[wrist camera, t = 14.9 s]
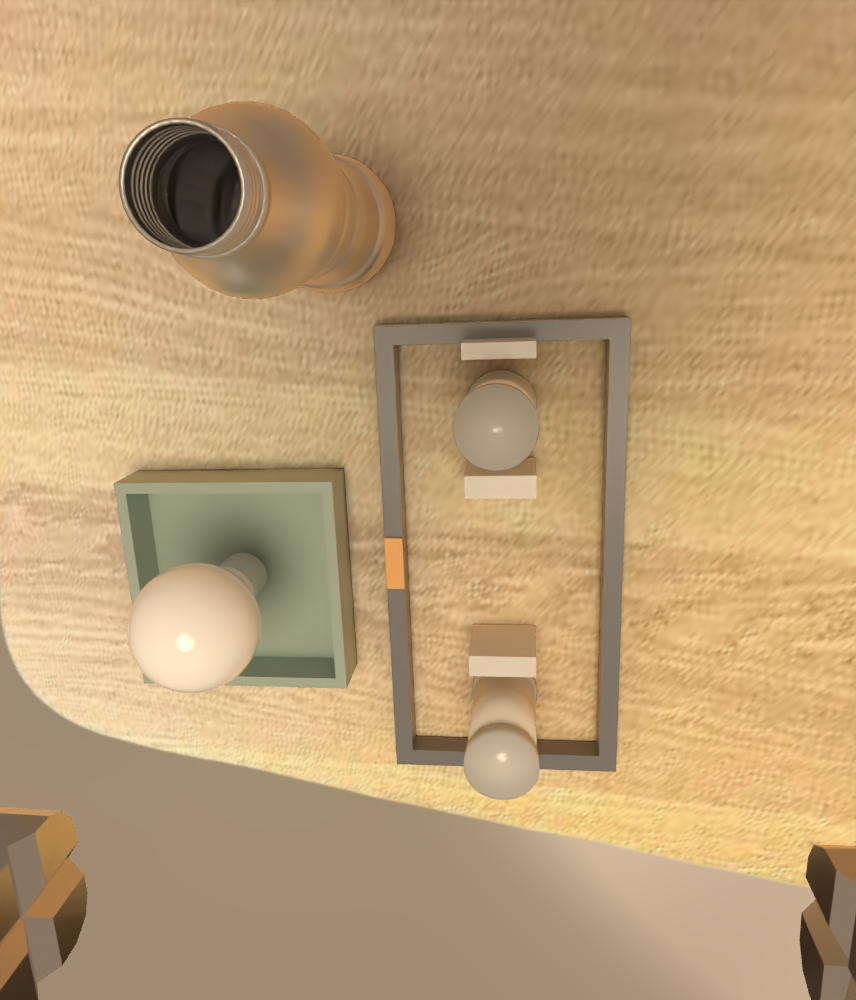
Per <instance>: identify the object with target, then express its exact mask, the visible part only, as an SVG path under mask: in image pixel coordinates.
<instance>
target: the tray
mask: <svg viewBox="0 0 856 1000" xmlns="http://www.w3.org/2000/svg"><path fill="white" fill-rule="evenodd" d="M114 488H115V495H116V501H117V508H118V515H119V521H120V528H121V534H122V541H123V548H124V554H125V561H126V567H127V574H128V581H129V587H130V594H131V600H132V605H133V603H134V601H135V599H136V597H137V596H138V594H139V593H140V591H141V590H142V589H143V588H144V586H145V585H146V584H147V583H148V582H149V581H150V580H152V579H153V578H154V577H155V576H157V575H158V574H160V573H162V572H163V571H165V570H167V569H169V568H172V567H175V566H178V565H182V564H187V563H208V564H213V565H217V566H220V565H221V564H222V563H223V562H224V561H225V560H226V559H227V558H228V557H230V556H231V555H233V554H235V553H240V552H244V553H249V554H252V555H254V556H256V557H257V558H258V559H259V560H260V561H261V562H262V563H263V565H264V566H265V569H266V572H267V580H266V584H265V586H264V587H263V588H262V590H261V591H260V592H259V594H258V595H257V596H256V597H255V598H256V600H257V603H258V606H259V609H260V614H261V636H260V641H259V644H258V647H257V650H256V652H255V654H254V656H253V658H252V660H251V661H250V663H249V664H248V665H247V667H246V668H245V669H244V670H243V671H242V672H241V673H240V674H239V675H238V676H237V677H236V678H234V679H233V680H232V681H230V682H229V683H227V684H225V685H233V686H274V687H315V688H347V687H348V684H349V682H350V679H351V677H352V675H353V672H354V670H355V668H356V665H357V652H356V638H355V623H354V608H353V594H352V579H351V564H350V550H349V535H348V520H347V506H346V491H345V476H344V468H329V469H222V470H139V471H137V472H135V473H133V474H131V475H129V476H127V477H125V478H123V479H121V480H119V481H117V482H116V483H114ZM142 673H143V672H142ZM143 679H144V683H152V684H156V683H154V682H153V681H151V680H150V679H149V678H148V677H147V676H146V675H145V674H144V673H143Z"/></svg>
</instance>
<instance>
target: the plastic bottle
mask: <svg viewBox="0 0 856 1000" xmlns="http://www.w3.org/2000/svg"><path fill="white" fill-rule="evenodd" d="M119 191H120V197H121V200H122V204H123V207H124V210H125V212H126V214H127V216H128V218H129V220H130V221H131V223H132V224H133V225H134V227H135V228H136V229H137V231H138V232H139V233H141V234H142V235H143V236H144V237H145V238H146V239H147V240H148V241H150V242H151V243H153V244H154V245H156V246H158V247H160V248H162V249H164V250H167V251H169V252H170V253H171V254H172V256H173V257H174V258H175V260H176V261H177V262H178V263H179V264H180V265H181V266H182V267H183V268H184V269H185V270H187V271H188V272H189V273H190V274H191V275H192V276H193V277H194V278H195V279H197V280H198V281H200V282H201V283H203V284H204V285H206V286H207V287H209V288H211V289H213V290H215V291H218V292H220V293H223V294H225V295H229V296H233V297H238V298H243V299H263V298H268V297H273V296H278V295H281V294H284V293H287V292H289V291H292V290H294V289H296V288H299V287H304V288H306V289H308V290H311V291H316V292H321V293H339V292H344V291H349V290H351V289H354V288H356V287H358V286H361V285H362V284H364V283H365V282H367V281H368V280H370V279H371V278H372V277H373V276H374V275H375V274H376V273H377V272H378V271H379V270H380V269H381V268H382V266H383V265H384V263H385V262H386V260H387V258H388V257H389V254H390V252H391V249H392V247H393V243H394V238H395V233H396V217H395V212H394V207H393V203H392V200H391V198H390V195H389V193H388V191H387V189H386V188H385V186H384V185H383V183H382V181H381V180H380V179H379V178H378V177H377V176H376V175H375V174H374V173H373V172H372V170H371V169H369V168H368V167H366V166H365V165H363V164H362V163H360V162H359V161H356V160H354V159H352V158H349V157H347V156H343V155H337V154H331V153H330V152H329V150H328V149H327V147H326V146H325V144H324V143H323V142H322V141H321V140H320V138H319V137H318V136H317V135H316V134H315V133H314V132H313V131H312V130H311V129H310V128H309V127H308V126H307V125H306V124H305V123H303V122H302V121H300V120H299V119H298V118H296V117H295V116H293V115H292V114H290V113H289V112H286V111H284V110H282V109H279V108H277V107H274V106H272V105H268V104H263V103H258V102H252V101H249V102H231V103H226V104H222V105H218V106H214V107H211V108H208V109H206V110H204V111H202V112H200V113H198V114H196V115H194V116H192V117H190V118H169V119H164V120H160V121H157V122H155V123H153V124H151V125H149V126H147V127H146V128H145V129H143V130H142V131H141V132H140V133H138V134H137V135H136V137H135V138H134V139H133V140H132V141H131V143H130V144H129V146H128V148H127V150H126V152H125V153H124V155H123V159H122V162H121V166H120V171H119Z"/></svg>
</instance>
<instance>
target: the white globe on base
mask: <svg viewBox="0 0 856 1000" xmlns="http://www.w3.org/2000/svg"><path fill="white" fill-rule="evenodd" d="M538 434H539V421H538V415H537V401H536V396H535V393H534V390H533V388H532V387H531V385H530V384H529V383H528V381H527V380H526V379H524V378H523V377H522V376H520V375H519V374H517V373H514V372H511V371H507V370H497V371H492V372H489V373H487V374H485V375H483V376H481V377H480V378H479V379H478V380H477V381H476V382H475V383H474V384H473V385H472V387H471V388H470V390H469V392H468V394H467V396H466V397H465V398H464V399H463V400H462V402H461V403H460V405H459V407H458V408H457V410H456V413H455V416H454V420H453V436H454V440H455V443H456V446H457V448H458V450H459V451H460V452H461V454H462V455H463V456H464V457H465V458H466V459H467V460H468V461H469V462H470V463H472V464H473V465H475V466H477V467H479V468H482V469H486V470H493V471H498V470H505V469H509V468H512V467H514V466H516V465H518V464H519V463H521V462H522V461H524V460H525V459H526V458H527V457H528V456H529V455H530V453H531V452H532V450H533V449H534V447H535V445H536V442H537V439H538Z"/></svg>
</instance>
